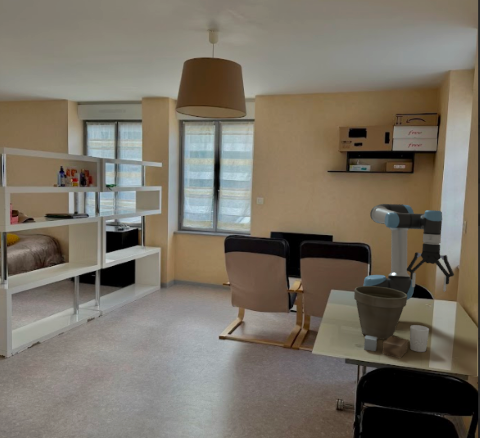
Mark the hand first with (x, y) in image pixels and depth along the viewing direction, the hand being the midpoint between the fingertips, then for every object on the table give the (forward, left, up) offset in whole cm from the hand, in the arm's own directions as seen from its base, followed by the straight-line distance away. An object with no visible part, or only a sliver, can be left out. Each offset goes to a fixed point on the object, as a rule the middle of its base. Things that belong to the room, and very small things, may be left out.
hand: (428, 288), depth 203 cm
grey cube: (-18, -24, -26) cm, 40 cm away
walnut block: (-8, -21, -26) cm, 35 cm away
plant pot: (-22, -2, -26) cm, 34 cm away
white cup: (-1, -10, -26) cm, 28 cm away
